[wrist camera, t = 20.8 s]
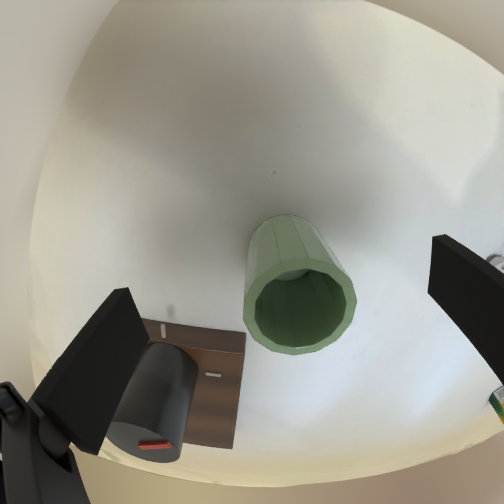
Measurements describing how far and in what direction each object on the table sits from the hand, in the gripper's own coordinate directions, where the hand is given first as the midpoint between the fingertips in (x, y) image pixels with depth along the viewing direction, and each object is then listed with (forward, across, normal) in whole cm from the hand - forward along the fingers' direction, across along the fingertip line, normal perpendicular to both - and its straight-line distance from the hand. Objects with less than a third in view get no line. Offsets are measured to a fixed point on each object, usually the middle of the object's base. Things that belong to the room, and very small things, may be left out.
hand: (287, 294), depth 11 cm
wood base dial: (+11, -13, -16) cm, 24 cm away
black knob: (+8, -12, -11) cm, 18 cm away
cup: (+12, +1, -3) cm, 12 cm away
